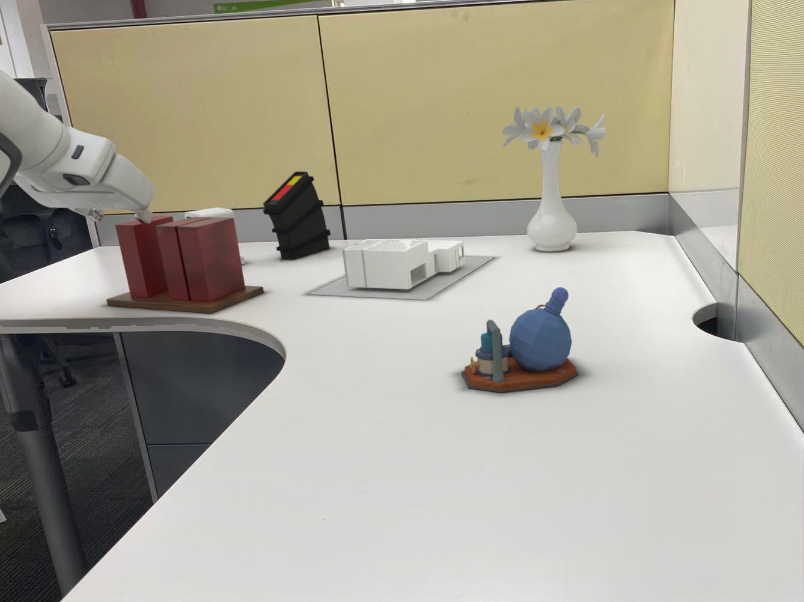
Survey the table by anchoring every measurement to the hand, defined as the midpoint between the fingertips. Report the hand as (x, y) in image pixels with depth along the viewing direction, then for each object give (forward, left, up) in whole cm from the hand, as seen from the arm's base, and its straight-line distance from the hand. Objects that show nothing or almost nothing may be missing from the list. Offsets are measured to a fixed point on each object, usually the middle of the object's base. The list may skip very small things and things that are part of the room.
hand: (123, 218), depth 119 cm
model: (-29, -64, -13) cm, 71 cm away
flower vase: (+38, -60, -13) cm, 72 cm away
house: (+17, -38, -13) cm, 43 cm away
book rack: (+2, -7, -13) cm, 14 cm away
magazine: (+34, -12, -13) cm, 38 cm away
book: (+3, -2, -12) cm, 12 cm away
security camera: (+25, 0, -13) cm, 28 cm away
